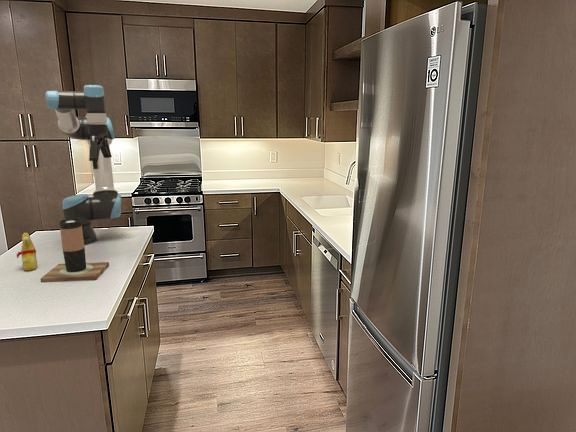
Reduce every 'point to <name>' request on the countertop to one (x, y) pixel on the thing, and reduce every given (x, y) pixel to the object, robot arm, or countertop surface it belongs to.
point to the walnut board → (75, 273)
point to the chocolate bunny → (28, 253)
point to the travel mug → (73, 245)
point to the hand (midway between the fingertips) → (102, 174)
